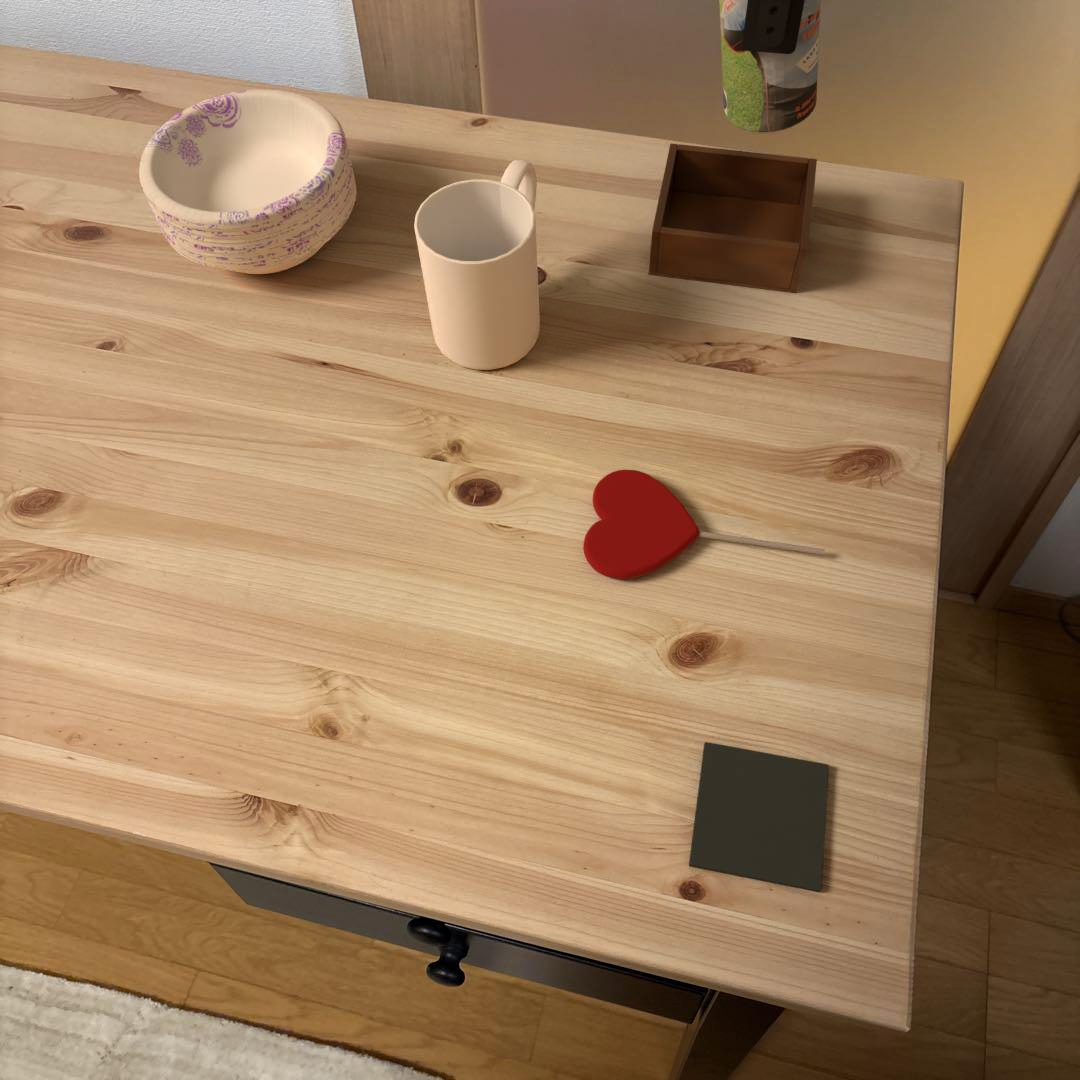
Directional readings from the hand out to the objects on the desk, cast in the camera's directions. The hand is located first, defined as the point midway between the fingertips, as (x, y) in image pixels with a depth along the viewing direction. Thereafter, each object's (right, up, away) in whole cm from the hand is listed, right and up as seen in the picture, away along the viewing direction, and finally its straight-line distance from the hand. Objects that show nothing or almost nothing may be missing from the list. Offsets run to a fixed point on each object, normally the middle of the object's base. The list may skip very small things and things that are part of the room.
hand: (773, 14), depth 62 cm
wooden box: (0, -9, +16) cm, 18 cm away
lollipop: (-4, -33, +3) cm, 33 cm away
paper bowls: (-36, -8, +18) cm, 41 cm away
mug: (-18, -16, +13) cm, 27 cm away
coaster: (-2, -48, -6) cm, 48 cm away
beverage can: (0, -4, +6) cm, 7 cm away
